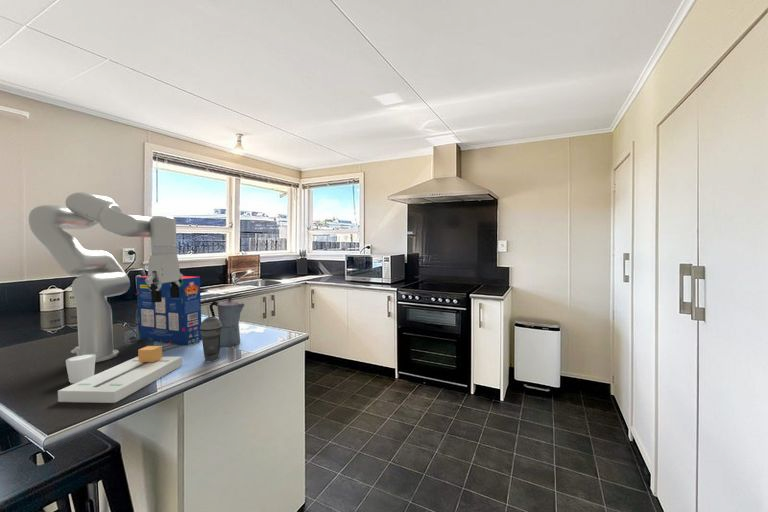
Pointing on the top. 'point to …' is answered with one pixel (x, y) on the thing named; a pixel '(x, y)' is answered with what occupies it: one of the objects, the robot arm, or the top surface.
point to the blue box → (170, 313)
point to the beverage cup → (211, 337)
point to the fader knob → (150, 353)
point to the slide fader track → (118, 381)
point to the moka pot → (229, 320)
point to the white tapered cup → (80, 367)
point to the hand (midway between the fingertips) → (166, 299)
